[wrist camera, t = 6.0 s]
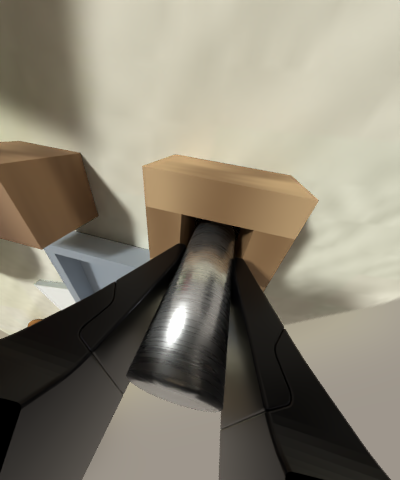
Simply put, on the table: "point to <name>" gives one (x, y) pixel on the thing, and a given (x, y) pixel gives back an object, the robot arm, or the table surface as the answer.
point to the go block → (226, 208)
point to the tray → (92, 262)
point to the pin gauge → (191, 326)
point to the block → (42, 193)
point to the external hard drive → (56, 293)
